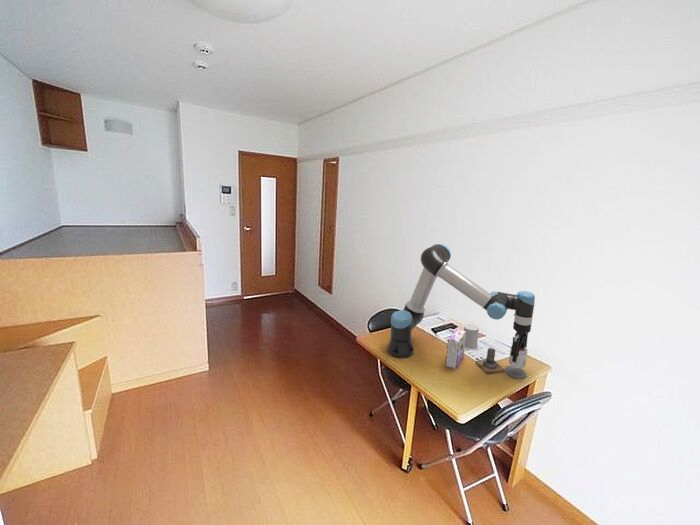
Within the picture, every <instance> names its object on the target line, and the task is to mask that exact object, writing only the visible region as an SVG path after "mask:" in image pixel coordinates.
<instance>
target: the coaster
mask: <svg viewBox="0 0 700 525" xmlns="http://www.w3.org/2000/svg"><path fill="white" fill-rule="evenodd" d="M504 369H505V370H504V373H505V374H506V375H507V376H509V377H510V378H513V379H515V380H516V379H517V380H523V379H526V378H527V377H528V376H527V372H526V370H524V369H523V368H514V367H512V366H511V365H507V366H505V367H504Z"/></svg>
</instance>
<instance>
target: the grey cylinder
mask: <svg viewBox="0 0 700 525" xmlns="http://www.w3.org/2000/svg"><path fill="white" fill-rule="evenodd" d="M511 349H512V345H511V346H510V351H509V360H508V363H509V365H511V361H512V356H511V354H510V353H511ZM518 356H519V358H518V365H517V368H521V369H523V368H524V367H526V363H527V356H528V348H527V347H526V348H524V347H522V346H520V350H519V354H518Z"/></svg>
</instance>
